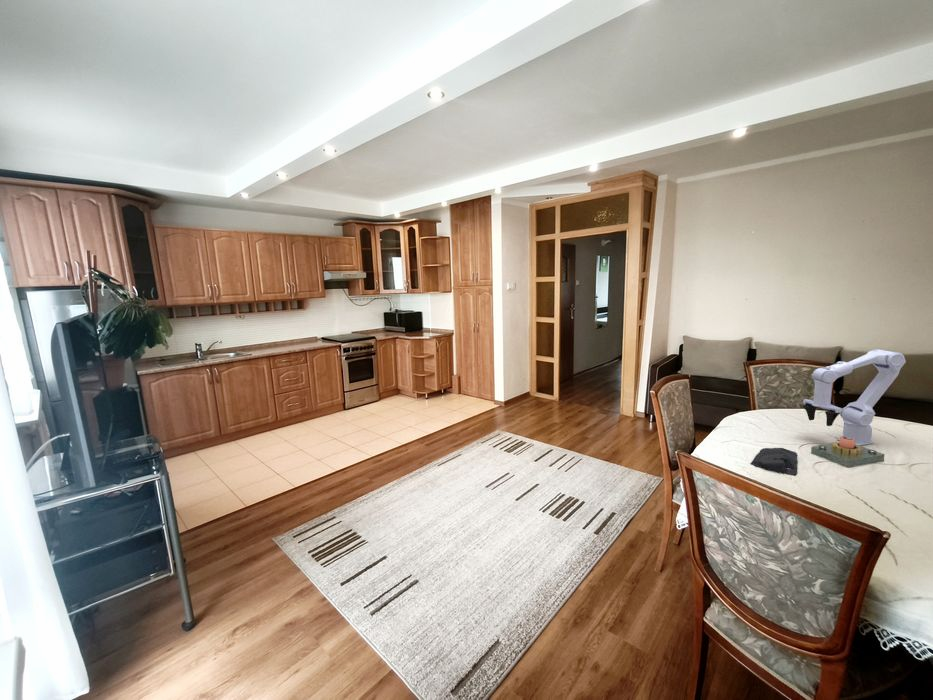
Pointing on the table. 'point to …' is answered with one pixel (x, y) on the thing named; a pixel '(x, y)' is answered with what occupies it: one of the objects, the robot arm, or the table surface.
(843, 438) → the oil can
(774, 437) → the table surface
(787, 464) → the dark slate chunk
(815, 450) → the metal plate with ring
